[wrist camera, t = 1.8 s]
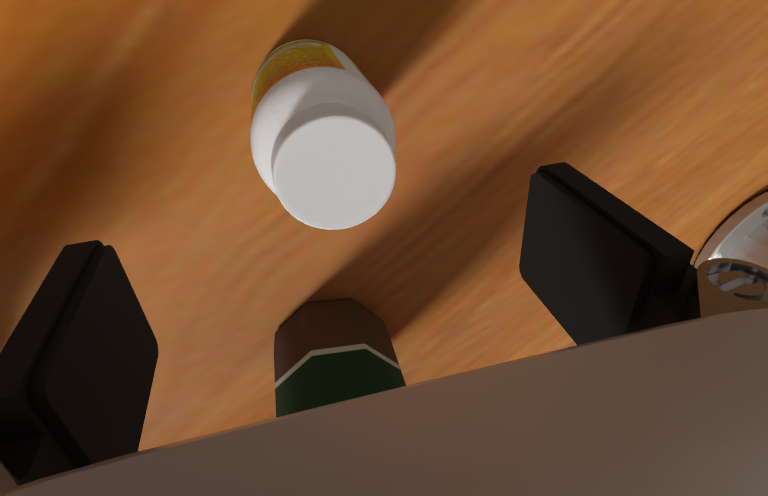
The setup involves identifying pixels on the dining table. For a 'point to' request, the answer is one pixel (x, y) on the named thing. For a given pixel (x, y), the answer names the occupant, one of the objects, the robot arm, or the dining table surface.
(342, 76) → the supplement bottle
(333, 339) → the beer bottle
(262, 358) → the dining table surface
